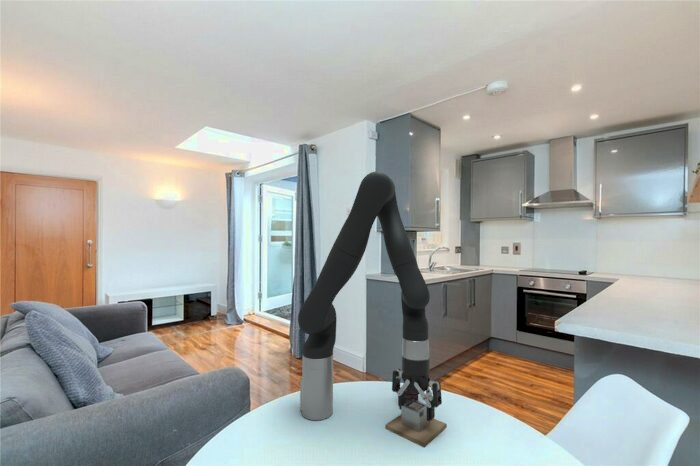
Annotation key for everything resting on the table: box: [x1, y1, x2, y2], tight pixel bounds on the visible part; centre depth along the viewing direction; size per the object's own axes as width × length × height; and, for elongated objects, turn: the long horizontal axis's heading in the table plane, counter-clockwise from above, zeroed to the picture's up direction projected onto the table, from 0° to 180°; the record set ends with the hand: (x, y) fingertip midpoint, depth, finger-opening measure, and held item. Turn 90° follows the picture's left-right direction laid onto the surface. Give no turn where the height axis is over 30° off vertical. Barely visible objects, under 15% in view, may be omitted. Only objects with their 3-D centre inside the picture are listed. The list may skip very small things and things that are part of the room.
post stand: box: [384, 402, 447, 448], centre depth 87 cm, size 12×12×6 cm
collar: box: [400, 399, 430, 433], centre depth 87 cm, size 6×6×5 cm
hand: (415, 414), depth 87 cm, fingers open, 8 cm apart
